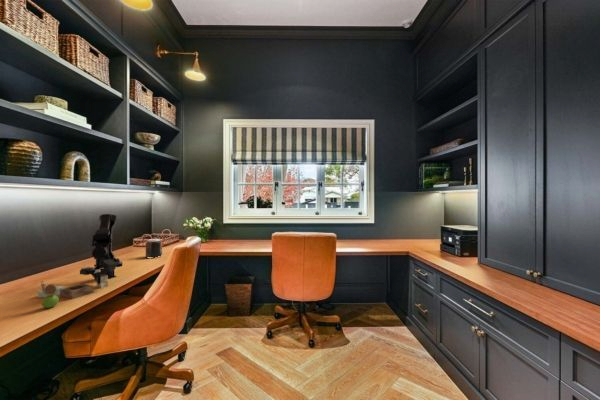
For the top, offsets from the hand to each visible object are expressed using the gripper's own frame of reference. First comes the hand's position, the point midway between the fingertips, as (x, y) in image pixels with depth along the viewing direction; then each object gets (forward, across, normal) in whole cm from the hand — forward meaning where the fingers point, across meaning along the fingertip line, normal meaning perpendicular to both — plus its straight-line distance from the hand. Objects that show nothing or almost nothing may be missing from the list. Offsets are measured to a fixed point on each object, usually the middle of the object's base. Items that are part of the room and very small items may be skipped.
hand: (102, 282), depth 136 cm
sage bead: (+2, -16, +12) cm, 20 cm away
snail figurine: (+2, -26, -6) cm, 27 cm away
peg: (+2, 0, 0) cm, 2 cm away
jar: (+2, +64, +36) cm, 73 cm away
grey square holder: (+2, -12, 0) cm, 12 cm away
